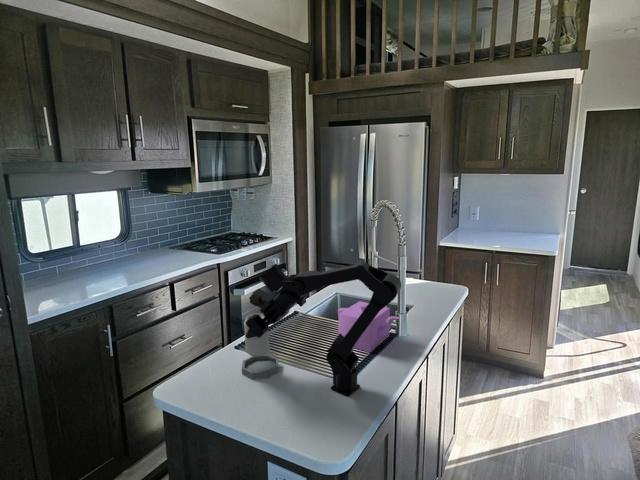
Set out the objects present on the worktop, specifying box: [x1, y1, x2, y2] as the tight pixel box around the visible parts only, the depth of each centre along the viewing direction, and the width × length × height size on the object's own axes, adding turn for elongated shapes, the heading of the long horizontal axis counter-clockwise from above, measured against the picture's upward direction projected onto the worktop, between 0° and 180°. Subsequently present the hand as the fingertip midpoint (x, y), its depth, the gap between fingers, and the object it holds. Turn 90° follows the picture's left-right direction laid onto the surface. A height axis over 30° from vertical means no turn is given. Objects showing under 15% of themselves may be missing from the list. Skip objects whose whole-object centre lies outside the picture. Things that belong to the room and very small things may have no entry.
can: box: [243, 313, 270, 357], centre depth 133 cm, size 8×8×12 cm
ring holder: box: [241, 353, 280, 380], centre depth 137 cm, size 12×12×2 cm
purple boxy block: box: [337, 301, 400, 353], centre depth 154 cm, size 15×25×14 cm, turn 55°
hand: (253, 331), depth 134 cm, fingers closed on can, 7 cm apart
